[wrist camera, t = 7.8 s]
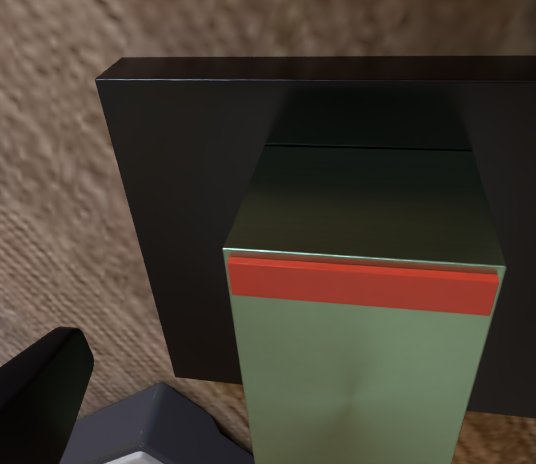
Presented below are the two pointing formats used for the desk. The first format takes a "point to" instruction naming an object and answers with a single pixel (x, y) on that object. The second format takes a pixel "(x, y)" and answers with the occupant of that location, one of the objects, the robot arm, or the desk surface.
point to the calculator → (151, 433)
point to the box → (361, 302)
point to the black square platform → (319, 136)
